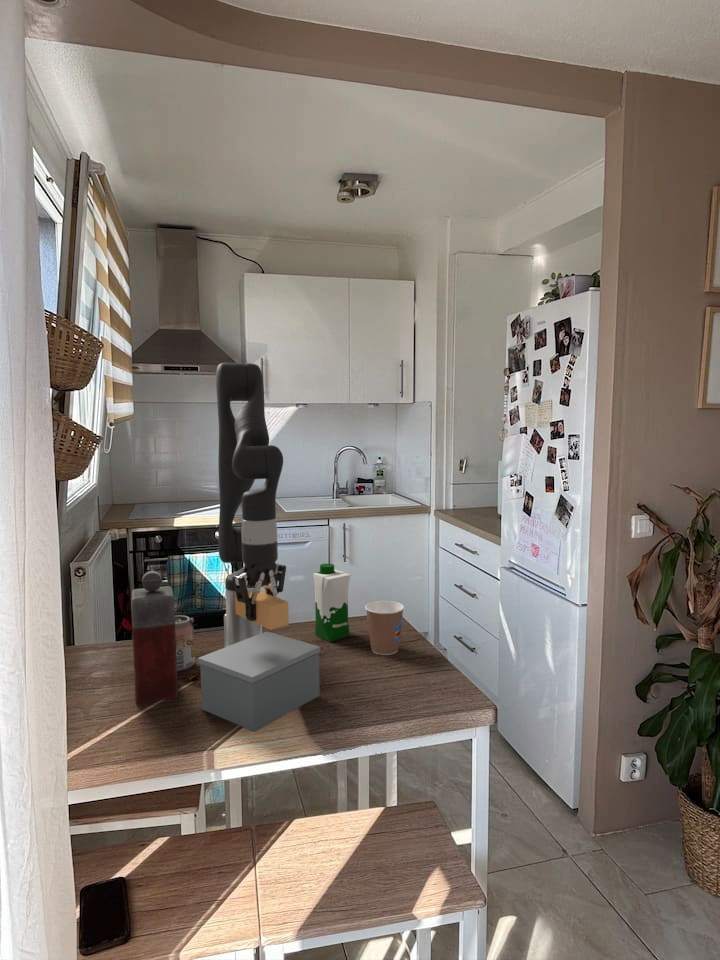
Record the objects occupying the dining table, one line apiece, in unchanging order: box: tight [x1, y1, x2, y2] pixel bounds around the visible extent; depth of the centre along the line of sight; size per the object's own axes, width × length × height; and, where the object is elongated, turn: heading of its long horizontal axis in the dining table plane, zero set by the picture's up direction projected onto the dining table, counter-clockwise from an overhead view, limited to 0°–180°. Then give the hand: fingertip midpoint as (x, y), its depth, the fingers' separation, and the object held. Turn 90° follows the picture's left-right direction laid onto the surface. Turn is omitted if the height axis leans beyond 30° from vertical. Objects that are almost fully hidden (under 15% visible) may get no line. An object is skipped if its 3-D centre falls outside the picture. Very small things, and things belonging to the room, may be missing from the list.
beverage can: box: [175, 614, 196, 672], centre depth 163 cm, size 9×8×12 cm
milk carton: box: [312, 563, 351, 643], centre depth 182 cm, size 9×9×20 cm
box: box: [199, 652, 320, 732], centre depth 142 cm, size 16×20×10 cm
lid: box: [197, 631, 321, 683], centre depth 141 cm, size 17×20×1 cm
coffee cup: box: [364, 600, 405, 656], centre depth 172 cm, size 10×10×12 cm
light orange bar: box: [235, 588, 290, 631], centre depth 140 cm, size 14×4×5 cm, turn 41°
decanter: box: [130, 570, 179, 704], centre depth 148 cm, size 9×11×28 cm
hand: (261, 616), depth 141 cm, fingers closed on light orange bar, 5 cm apart
